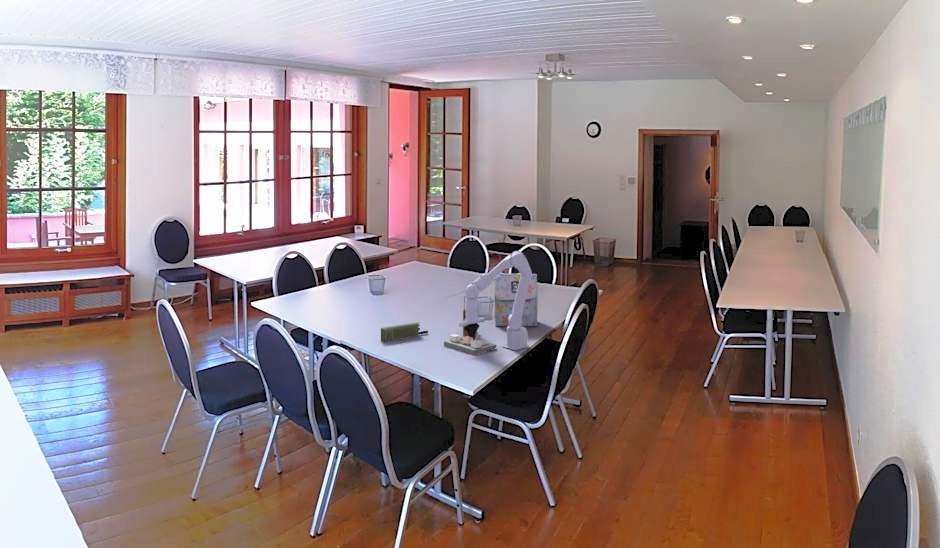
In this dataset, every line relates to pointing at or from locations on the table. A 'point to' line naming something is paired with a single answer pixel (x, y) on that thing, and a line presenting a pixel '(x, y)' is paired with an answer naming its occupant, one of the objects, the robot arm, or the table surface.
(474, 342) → the lever
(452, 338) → the lever
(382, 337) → the handheld radio
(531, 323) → the lunch bag
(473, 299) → the robot arm
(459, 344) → the breaker panel
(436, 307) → the table surface
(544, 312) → the table surface
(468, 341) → the lever
